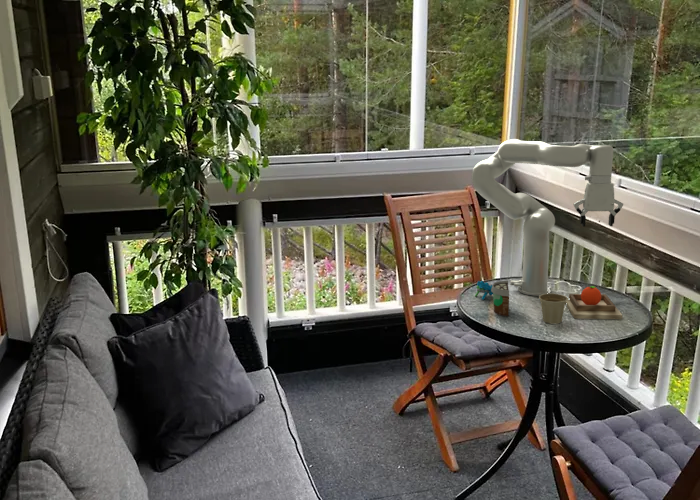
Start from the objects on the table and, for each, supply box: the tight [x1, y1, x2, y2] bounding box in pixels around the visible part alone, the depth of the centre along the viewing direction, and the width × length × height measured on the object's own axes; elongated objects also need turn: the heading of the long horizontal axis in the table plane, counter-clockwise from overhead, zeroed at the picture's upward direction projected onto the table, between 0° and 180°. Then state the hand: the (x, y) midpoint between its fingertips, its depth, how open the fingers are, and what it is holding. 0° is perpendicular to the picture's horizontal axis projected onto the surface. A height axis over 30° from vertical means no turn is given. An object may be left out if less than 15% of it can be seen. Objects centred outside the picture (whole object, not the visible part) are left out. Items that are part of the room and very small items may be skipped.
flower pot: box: [538, 292, 568, 325], centre depth 214 cm, size 9×9×9 cm
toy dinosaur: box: [474, 280, 493, 301], centre depth 240 cm, size 11×6×10 cm
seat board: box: [566, 293, 623, 320], centre depth 225 cm, size 16×20×4 cm
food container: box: [491, 280, 510, 317], centre depth 225 cm, size 12×6×10 cm, turn 168°
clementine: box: [580, 285, 602, 305], centre depth 225 cm, size 8×7×7 cm
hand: (596, 225), depth 230 cm, fingers open, 9 cm apart
